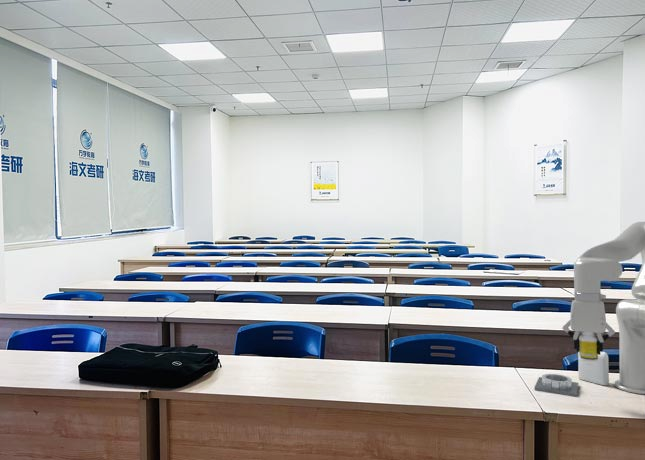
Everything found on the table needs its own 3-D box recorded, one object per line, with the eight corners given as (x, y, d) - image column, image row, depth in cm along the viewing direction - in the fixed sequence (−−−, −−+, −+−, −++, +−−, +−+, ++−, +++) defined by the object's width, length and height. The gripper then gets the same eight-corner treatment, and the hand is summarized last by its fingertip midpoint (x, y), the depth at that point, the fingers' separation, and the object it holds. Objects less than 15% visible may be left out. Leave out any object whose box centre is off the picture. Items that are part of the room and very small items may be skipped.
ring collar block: (578, 385, 170) (578, 375, 170) (576, 396, 159) (576, 386, 159) (539, 379, 176) (539, 370, 176) (534, 389, 165) (534, 380, 165)
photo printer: (576, 379, 177) (576, 346, 177) (582, 377, 179) (582, 344, 179) (604, 386, 168) (604, 352, 168) (610, 384, 171) (610, 350, 170)
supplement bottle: (600, 362, 151) (600, 332, 151) (582, 361, 152) (581, 331, 152) (594, 357, 156) (594, 328, 156) (576, 357, 157) (576, 328, 157)
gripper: (618, 297, 152) (619, 352, 153) (559, 294, 161) (560, 346, 162) (618, 301, 146) (619, 358, 146) (557, 297, 155) (558, 352, 155)
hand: (588, 351), depth 154 cm, fingers closed on supplement bottle, 5 cm apart
